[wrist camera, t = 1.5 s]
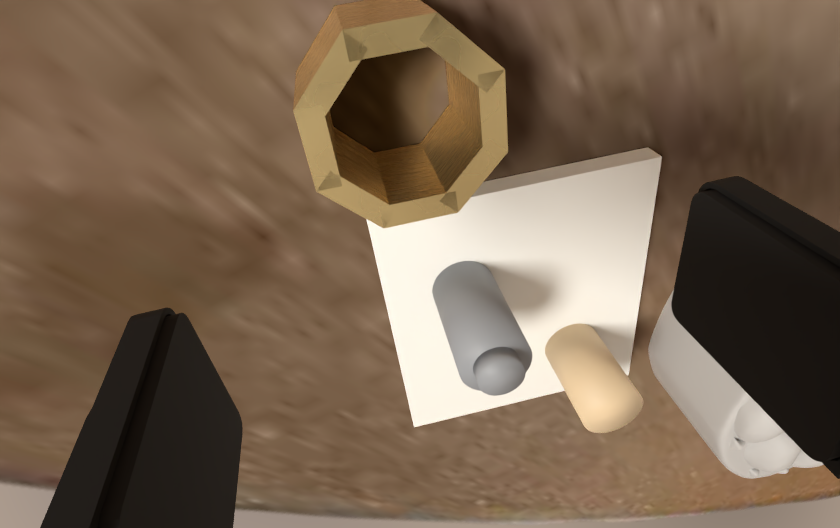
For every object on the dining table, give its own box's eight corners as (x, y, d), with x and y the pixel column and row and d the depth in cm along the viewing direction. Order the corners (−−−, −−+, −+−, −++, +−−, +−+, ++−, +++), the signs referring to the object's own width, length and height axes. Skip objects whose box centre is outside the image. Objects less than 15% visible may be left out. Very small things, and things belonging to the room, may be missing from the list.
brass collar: (460, -17, 19) (502, -1, 15) (474, 151, 23) (509, 201, 19) (281, 15, 19) (273, 42, 14) (326, 181, 22) (330, 240, 18)
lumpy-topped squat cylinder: (844, 234, 31) (1005, 329, 24) (747, 385, 38) (848, 492, 31) (695, 236, 28) (823, 340, 21) (622, 395, 35) (700, 513, 28)
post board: (648, 147, 24) (761, 222, 18) (618, 361, 33) (689, 461, 27) (364, 206, 23) (383, 307, 17) (410, 411, 32) (435, 527, 26)
